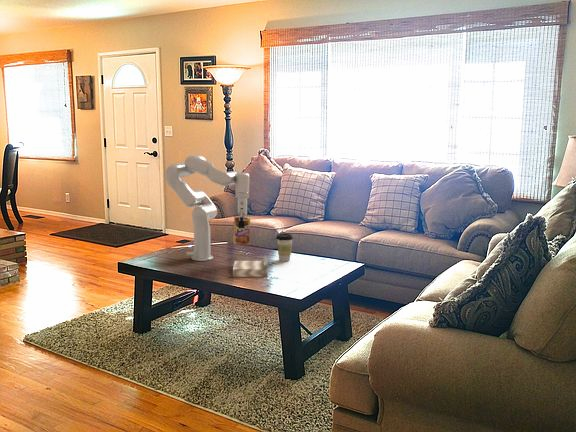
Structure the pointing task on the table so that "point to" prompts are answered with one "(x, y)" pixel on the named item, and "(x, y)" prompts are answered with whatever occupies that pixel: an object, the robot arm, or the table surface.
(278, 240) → the coffee cup
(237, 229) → the candy box
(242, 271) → the low shelf
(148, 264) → the table surface
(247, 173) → the robot arm
